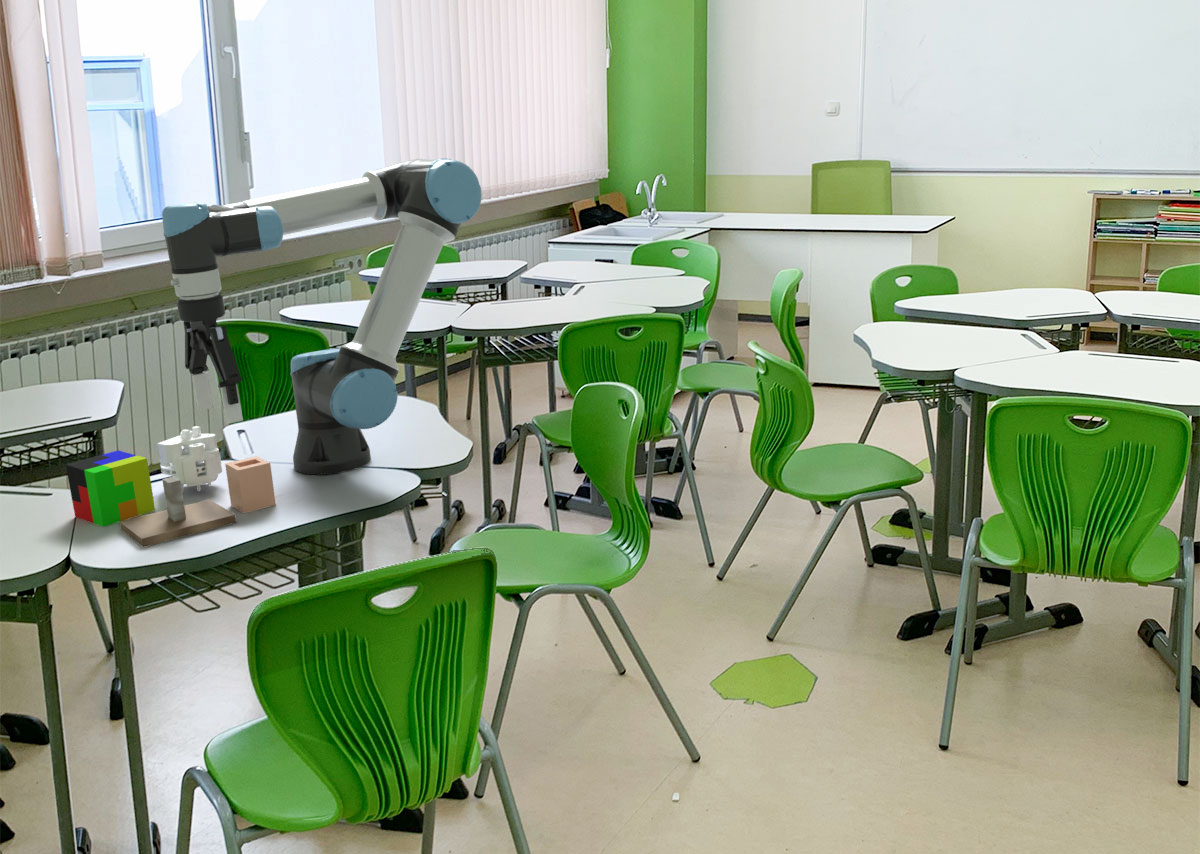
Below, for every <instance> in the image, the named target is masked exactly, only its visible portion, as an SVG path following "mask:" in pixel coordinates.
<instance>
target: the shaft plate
mask: <svg viewBox="0 0 1200 854" xmlns="http://www.w3.org/2000/svg"><path fill="white" fill-rule="evenodd" d="M161 481H162V484H163V485H162V487H163V491H164V498H165V503H166V504H165V505H166V509H165V510H161V511H157V512H153V513H152V512H151V513H150V514H149V513H147V514H143V515H139V516H136V517H133V518H130V519H127V520H124V521H120V522H119V526H120V530H121V531H122V532H123V533H125V535H127V536H128V537H129V538H131V539H132V540H133V541H135V542H136V543H137V544H138V545H139V546H141V547H142V548H145V547H149V546H153V545H157V544H161V543H165V542H168V541H173V540H177V539H179V538H183V537H186V536H190V535H195V534H198V533H203V532H206V531H210V530H214V529H218V528H221V527H226V526H230V525H232V524H233V525H234V524H237V519H236V514H235V513H233V512H231V511H230V510H228V509H227V508H225V507H224V506H223V505H220V504H219V503H217V502H215V501H214V500H212V499H206V500H201V501H198V502H194V503H190V504H186V505H185V504H184V503H185V501H184V496H183V492H182V488H181V482H180V480H179V479H177V478H176V477H172V476H171V477H165V478H162V480H161Z"/></svg>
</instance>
